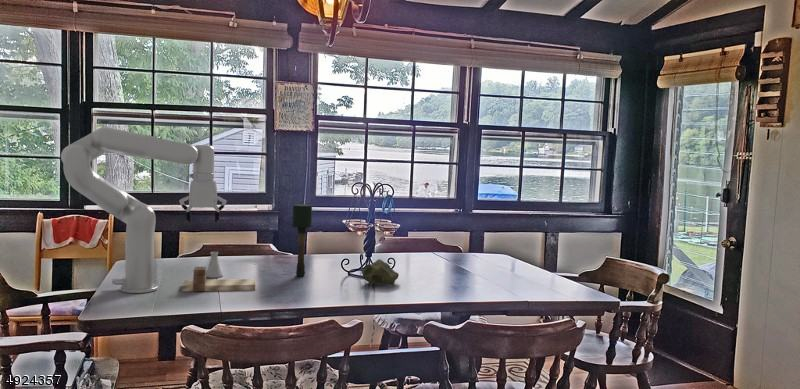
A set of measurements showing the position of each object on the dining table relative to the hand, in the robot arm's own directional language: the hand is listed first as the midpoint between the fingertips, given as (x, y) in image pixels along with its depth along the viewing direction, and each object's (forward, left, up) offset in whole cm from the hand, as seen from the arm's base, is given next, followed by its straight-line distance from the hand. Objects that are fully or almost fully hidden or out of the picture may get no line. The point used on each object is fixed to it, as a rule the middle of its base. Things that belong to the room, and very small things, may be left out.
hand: (202, 222), depth 231 cm
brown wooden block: (0, -6, -24) cm, 25 cm away
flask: (+4, +13, -24) cm, 28 cm away
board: (+7, -7, -24) cm, 26 cm away
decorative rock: (+70, -6, -24) cm, 74 cm away
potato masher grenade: (+39, +12, -24) cm, 47 cm away
